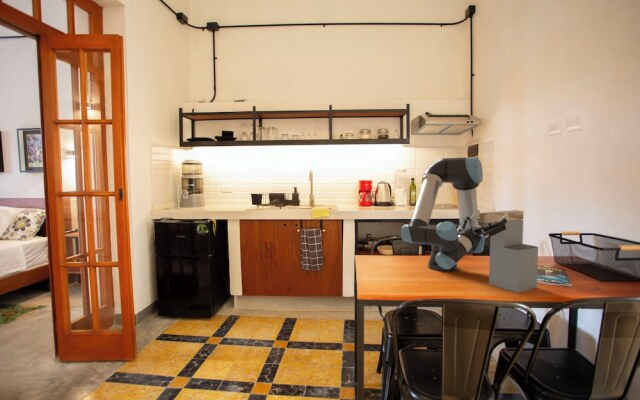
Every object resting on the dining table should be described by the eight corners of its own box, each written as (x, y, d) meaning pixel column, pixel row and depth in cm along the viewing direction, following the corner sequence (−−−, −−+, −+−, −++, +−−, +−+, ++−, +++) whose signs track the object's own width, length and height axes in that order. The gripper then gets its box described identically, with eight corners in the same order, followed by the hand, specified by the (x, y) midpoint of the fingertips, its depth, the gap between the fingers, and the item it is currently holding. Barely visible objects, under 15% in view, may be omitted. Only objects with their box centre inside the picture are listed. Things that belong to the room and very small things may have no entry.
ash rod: (479, 222, 145) (479, 213, 144) (514, 218, 157) (515, 210, 156) (487, 223, 141) (487, 214, 141) (523, 219, 153) (523, 210, 153)
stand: (488, 283, 153) (490, 220, 150) (507, 279, 159) (509, 218, 157) (517, 292, 141) (520, 223, 138) (536, 287, 147) (539, 221, 145)
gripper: (489, 239, 126) (519, 209, 133) (438, 229, 148) (466, 204, 156) (494, 254, 128) (523, 224, 136) (444, 243, 150) (471, 217, 158)
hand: (493, 213), depth 146 cm, fingers open, 13 cm apart
